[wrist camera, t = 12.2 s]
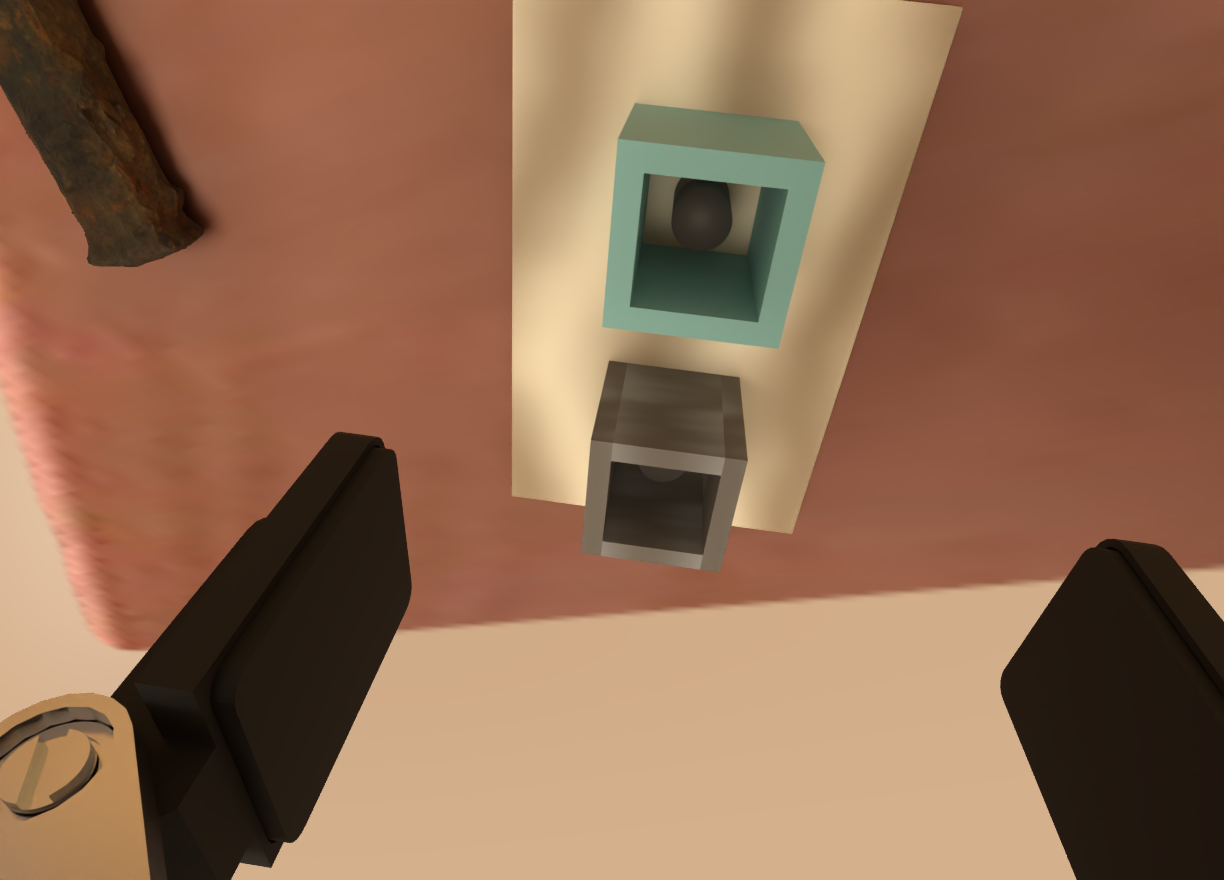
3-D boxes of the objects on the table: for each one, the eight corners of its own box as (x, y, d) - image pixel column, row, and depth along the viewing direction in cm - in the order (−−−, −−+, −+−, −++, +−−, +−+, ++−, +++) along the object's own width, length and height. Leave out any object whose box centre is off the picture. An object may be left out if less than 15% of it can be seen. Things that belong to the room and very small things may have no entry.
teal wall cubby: (798, 121, 23) (825, 162, 18) (763, 277, 26) (778, 348, 21) (635, 102, 23) (617, 138, 18) (620, 260, 26) (602, 327, 22)
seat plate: (951, 5, 22) (1045, 19, 16) (789, 517, 34) (807, 630, 29) (521, -41, 22) (457, -44, 16) (517, 481, 35) (480, 584, 29)
